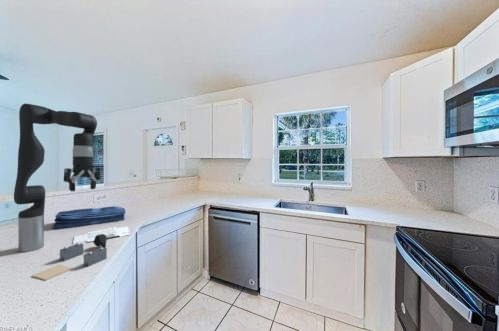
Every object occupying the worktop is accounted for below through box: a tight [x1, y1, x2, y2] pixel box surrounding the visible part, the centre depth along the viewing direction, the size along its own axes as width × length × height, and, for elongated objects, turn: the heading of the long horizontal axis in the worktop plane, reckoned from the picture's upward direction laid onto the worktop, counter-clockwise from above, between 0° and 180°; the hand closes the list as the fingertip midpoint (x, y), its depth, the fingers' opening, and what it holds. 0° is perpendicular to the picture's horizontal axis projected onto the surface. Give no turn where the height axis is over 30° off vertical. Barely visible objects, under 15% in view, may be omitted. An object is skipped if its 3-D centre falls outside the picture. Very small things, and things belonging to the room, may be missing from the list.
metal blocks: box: [59, 242, 108, 267], centre depth 95 cm, size 19×8×6 cm, turn 72°
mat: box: [31, 264, 74, 281], centre depth 83 cm, size 9×9×1 cm
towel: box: [52, 205, 126, 230], centre depth 158 cm, size 24×43×10 cm, turn 126°
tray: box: [72, 225, 132, 245], centre depth 127 cm, size 20×28×4 cm
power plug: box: [93, 234, 108, 248], centre depth 107 cm, size 6×8×12 cm
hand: (83, 190), depth 96 cm, fingers open, 8 cm apart
